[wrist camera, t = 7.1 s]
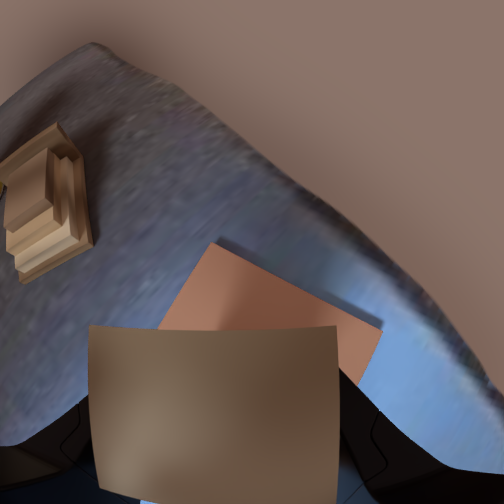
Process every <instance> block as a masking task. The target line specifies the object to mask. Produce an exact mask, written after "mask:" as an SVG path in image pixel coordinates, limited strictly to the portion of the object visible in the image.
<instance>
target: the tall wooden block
mask: <svg viewBox="0 0 504 504" xmlns="http://www.w3.org/2000/svg"><path fill="white" fill-rule="evenodd" d="M88 394H89V413H90V425H91V435H92V444H93V452H94V459H95V465H96V471H97V477H98V482H99V487H100V488H101V489H104V490H108V491H111V492H114V493H117V494H121V495H124V496H128V497H132V498H136V499H140V500H144V501H149V502H153V503H158V504H336V499H337V486H338V468H339V439H340V392H339V361H338V341H337V326H336V325H334V326H321V327H307V328H290V329H269V330H226V331H201V330H159V329H138V328H122V327H108V326H96V325H89V340H88Z"/></svg>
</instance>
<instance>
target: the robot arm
mask: <svg viewBox="0 0 504 504" xmlns="http://www.w3.org/2000/svg"><path fill="white" fill-rule="evenodd" d="M339 392H340V439H339V468H338V486H337V499H336V504H504V474H492V473H482V472H474V471H467V470H460V469H455V468H452V467H449V466H447V465H445V464H443V463H441V462H440V461H438V460H437V459H436V458H434V457H433V456H432V455H430V454H429V453H428V452H426V451H425V450H424V449H422V448H421V447H420V446H419V445H417V444H416V443H415V442H414V441H412V440H411V439H410V438H409V437H407V436H406V435H405V434H404V433H403V432H401V431H400V430H399V429H398V428H397V427H396V426H395V425H394V424H393V423H392V422H391V421H390V420H389V419H388V418H387V417H386V416H385V415H384V414H383V413H382V412H381V411H379V409H378V408H377V407H376V406H375V405H374V404H373V403H372V402H371V401H370V399H369V398H368V397H367V396H366V395H365V394H364V393H363V392H362V391H361V390H360V389H359V388H358V387H357V386H356V385H355V384H354V383H353V381H352V380H351V379H350V378H349V377H348V376H347V375H346V374H345V373H344V372H343V371H342V370H341V369H340V368H339ZM140 501H141V500H140V499H136V498H132V497H128V496H124V495H121V494H117V493H114V492H111V491H108V490H104V489H101V488H100V487H99V482H98V477H97V471H96V465H95V459H94V452H93V444H92V435H91V425H90V413H89V394H88V395H87V396H86V397H85V398H83V399H82V400H81V401H80V402H79V404H76V405H75V406H74V407H72V408H71V409H70V410H69V411H68V412H66V413H65V414H64V415H62V416H61V417H60V418H59V419H57V420H56V421H54V422H53V423H51V424H50V425H49V426H47V427H46V428H44V429H43V430H41V431H40V432H38V433H36V434H35V435H33V436H32V437H30V438H29V439H27V440H26V441H24V442H22V443H20V444H18V445H14V446H0V504H140Z"/></svg>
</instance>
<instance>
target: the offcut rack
mask: <svg viewBox="0 0 504 504" xmlns="http://www.w3.org/2000/svg"><path fill="white" fill-rule="evenodd" d="M0 181H1V182H2V183H3V184H4V185H6V186H7V194H6V203H5V213H4V228H5V229H7V235H6V251H7V252H9V253H11V254H12V255H14V256H15V269H17V270H19V282H20V283H23V284H25V285H26V284H27V283H29V282H31V281H32V280H34V279H36V278H37V277H39V276H41V275H43V274H44V273H46V272H48V271H50V270H51V269H53V268H55V267H57V266H58V265H60V264H62V263H64V262H66V261H68V260H69V259H71V258H73V257H75V256H77V255H79V254H81V253H82V252H84V251H86V250H88V249H90V248H92V247H94V245H93V239H92V233H91V227H90V220H89V212H88V204H87V195H86V185H85V173H84V157H83V156H82V154H81V153H80V152H79V150H78V149H77V148H76V146H75V145H74V144H73V142H72V141H71V140H70V138H69V137H68V136H67V134H66V133H65V132H64V130H63V129H62V128H61V126H60V125H59V123H58V122H56V123H54V124H53V125H51V126H50V127H48V128H47V129H45V130H44V131H42V132H41V133H39V134H38V135H36V136H35V137H34V138H32V139H31V140H29V141H28V142H27V143H25V144H24V145H23V146H21V147H20V148H19V149H18V150H16V151H15V152H14V153H12V154H11V155H10V156H9V157H7V158H6V159H5V160H4V161H3V162H1V163H0Z"/></svg>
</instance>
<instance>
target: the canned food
mask: <svg viewBox="0 0 504 504" xmlns="http://www.w3.org/2000/svg"><path fill="white" fill-rule="evenodd" d="M3 187H4V184H3V183H2V182H1V181H0V198H1V195H2V191H3Z"/></svg>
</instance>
